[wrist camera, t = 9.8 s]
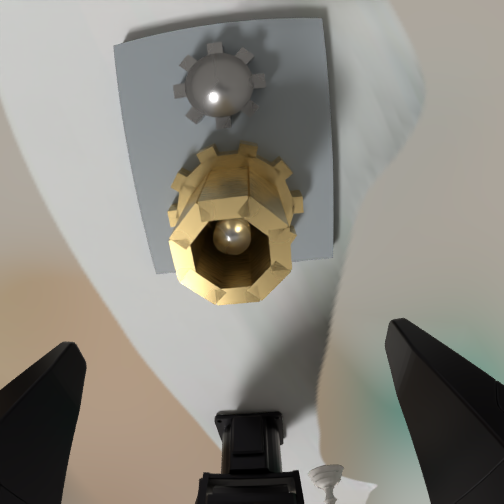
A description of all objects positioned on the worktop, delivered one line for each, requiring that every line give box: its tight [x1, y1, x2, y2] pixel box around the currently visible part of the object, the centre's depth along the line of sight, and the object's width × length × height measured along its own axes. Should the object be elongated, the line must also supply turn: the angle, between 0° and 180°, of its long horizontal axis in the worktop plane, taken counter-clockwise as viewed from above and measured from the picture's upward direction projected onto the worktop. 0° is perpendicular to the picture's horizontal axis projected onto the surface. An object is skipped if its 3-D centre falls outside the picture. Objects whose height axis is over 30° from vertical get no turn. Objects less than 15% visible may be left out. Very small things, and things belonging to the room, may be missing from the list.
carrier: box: [114, 18, 333, 274], centre depth 15 cm, size 14×11×6 cm
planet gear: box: [167, 140, 304, 305], centre depth 15 cm, size 7×7×6 cm
